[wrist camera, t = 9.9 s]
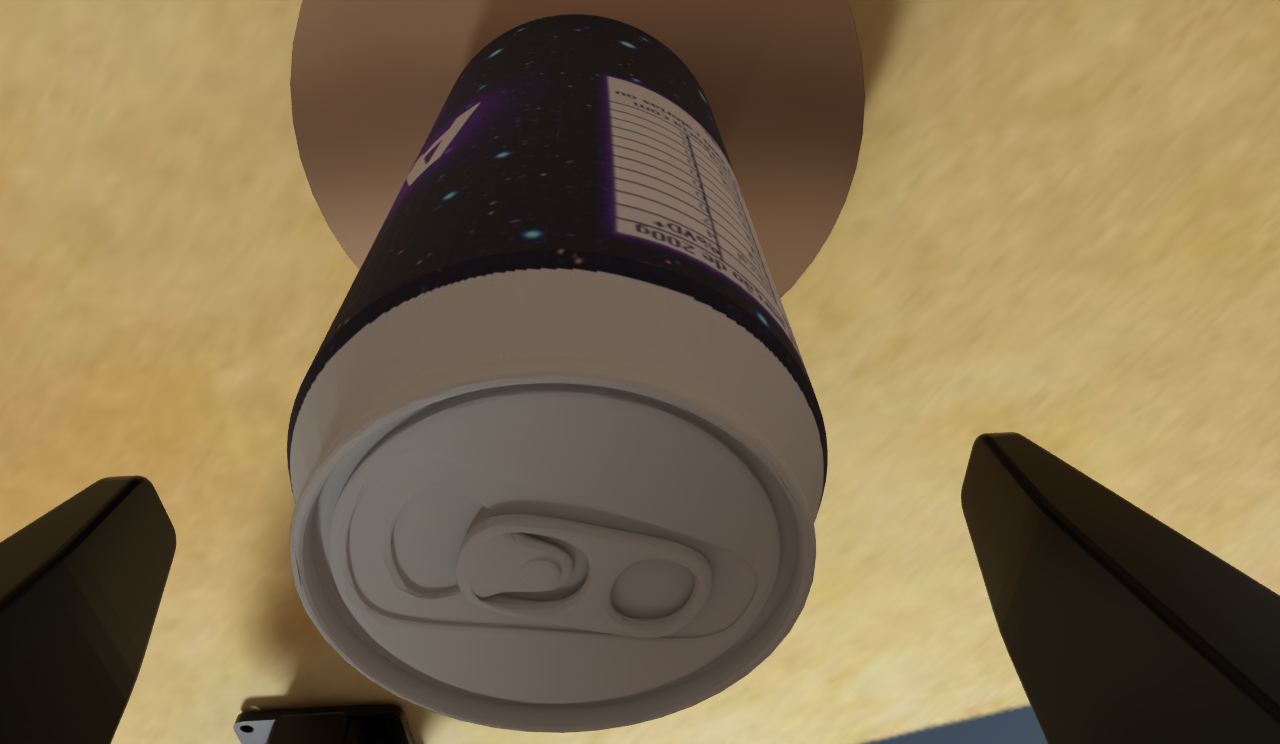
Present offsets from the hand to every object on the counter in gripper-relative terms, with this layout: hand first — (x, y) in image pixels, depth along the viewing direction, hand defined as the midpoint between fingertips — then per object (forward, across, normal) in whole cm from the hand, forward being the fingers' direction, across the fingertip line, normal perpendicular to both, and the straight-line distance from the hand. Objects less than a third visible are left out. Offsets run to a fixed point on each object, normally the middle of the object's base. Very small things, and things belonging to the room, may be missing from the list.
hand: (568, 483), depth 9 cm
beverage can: (+11, 0, 0) cm, 11 cm away
